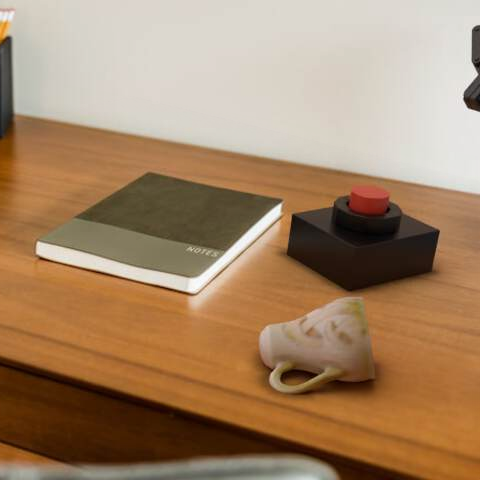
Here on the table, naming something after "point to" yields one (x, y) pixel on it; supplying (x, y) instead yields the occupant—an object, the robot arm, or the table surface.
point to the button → (369, 199)
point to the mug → (321, 346)
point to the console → (362, 244)
